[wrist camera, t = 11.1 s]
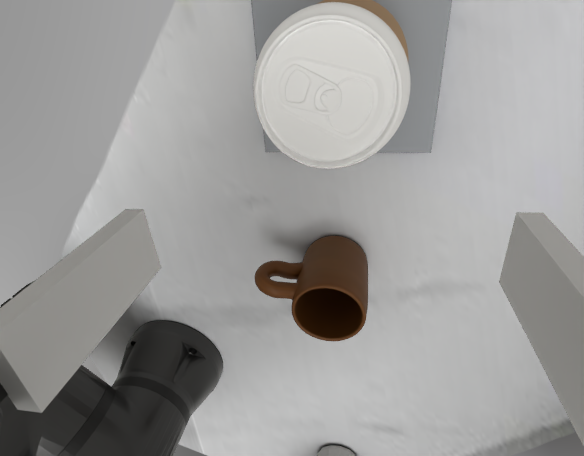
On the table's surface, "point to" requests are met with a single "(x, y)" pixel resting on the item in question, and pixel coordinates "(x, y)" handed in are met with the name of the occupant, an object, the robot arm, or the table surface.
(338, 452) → the water bottle
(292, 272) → the mug
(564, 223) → the table surface
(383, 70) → the beverage can
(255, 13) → the pedestal
